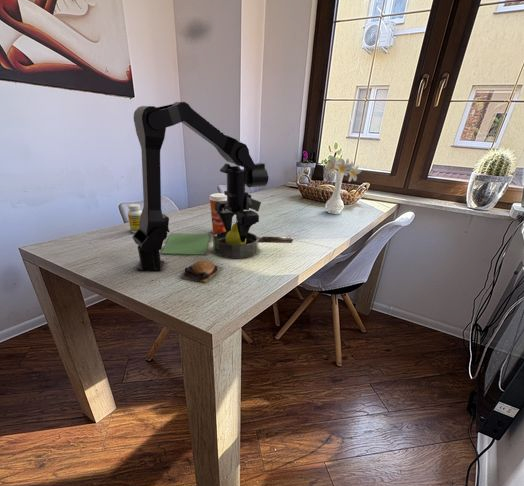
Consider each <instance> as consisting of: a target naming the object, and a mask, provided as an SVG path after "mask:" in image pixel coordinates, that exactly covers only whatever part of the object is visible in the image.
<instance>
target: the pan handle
mask: <svg viewBox="0 0 524 486" xmlns="http://www.w3.org/2000/svg"><path fill="white" fill-rule="evenodd" d="M257 239H259V242H258V244H259V243H261V244H262V243H266V244H267V243H268V244H269V243H270V244H292V243H293V242H294V238H293V237H292V236H262V237H261V236H257V237H256V240H257Z"/></svg>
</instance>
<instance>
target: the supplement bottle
mask: <svg viewBox="0 0 524 486" xmlns="http://www.w3.org/2000/svg"><path fill="white" fill-rule="evenodd" d="M127 208H128V211H127V217H128V223H129V228H130V231H131V233H133V234H135V233H136V232H137V230H138V229H139V223H140V216H141V213H142V210H141V205H140V204H138V203H129V204H128V205H127Z"/></svg>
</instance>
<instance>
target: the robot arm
mask: <svg viewBox="0 0 524 486" xmlns="http://www.w3.org/2000/svg"><path fill="white" fill-rule="evenodd" d="M133 123H134V129H135V133H136V136H137V139H138V142H139V145H140V149H141V171H142V173H141V174H142V195H143V197H142V198H143V208H142V210H141V211H142V213H141V216H140V223H139V229H138V230H137V232H136V233H133V235H132V237H131V238H132V240H133V241H134V243H135V244H136V245H137V251H138V259H139V265H138V267H137V268H136V270H137V271H138V272H139V271H140V272H141V271H143V272H144V271H146V272H160V271H162V268H163V267H164V264H165V260H162V259H161V254H160V251H161V250H163V249H162V248H163V244H164V241H165V240H166V239H167V237H168V233H170V232H171V231H170V228H169V224H170V217H169V216H168V215H166V214H165V213H163V210H162V180H161V178H162V177H161V174H162V173H161V172H162V171H161V149H162V147H163V144H164V141H165V138H166V131H167V128H170V127H173V126H175V125H178V124H180V123H182V124H183V125H184V126H185V127H187V128H188V129H189V130H191V131H192V132H194V133H195V134H197V135H198V136H199V137H201V138H202V139H203V140H205V141H206V142H208V143H209V144H210V145H211V146H213V147H214V149H216V151H217V152H218V154H219V155H220V156H221V157H222V158H223V159H224V160H225V161H226V162H227V163H224V165H223V166H222V167H220V169H219V172H220V173H223V174H226V190H224V191H223V194H225V195H227V201H217V202H216V204H215V210H216V211H218V212H217V214H218V215H219V217H220V219H221V221H222V223H223V225H224V227H225V229H226V232H227V233H228V232H229V231H231V229H232V226H233V218H234V216H235V219H236V220H237V222H236V221H235V223H236V225H237V228H238V232H239V236H240V240H241V242H245V239H246V236H247V234H248V232H250V229H251V227H252V226H253V225H256V224H258V223H259V222H260V215H259V213H258V212H259V210H260V207H261V204H262V202H261V201H260V200H256V199H254V198H252V194H249V193H248V192H247V191H246V187H247V188H260V187H266V186H267V184H268V182H269V173H268V171H267V169H266V164H265V163H263V162H257V163H255V162H254V160H253V158H252V156H251V154H250V148H249V146H248V145H247V144H246V143H244V142H242V141H241V140H239V139H236V138H234V137H232V136H229V135H227V134H225V133H224V132H223V131H221V130H220V129H219V128H218V127H217V126H215V125H214V124H213V123H212V122H210V121H209V120H208V119H206V118H205V117H204V116H202V115H201V114H200V113H198V112H197V110H195V109H194V108H193V107H192V106H191V105H190V104H189V103H188V102H186V101H176V102H175V101H174V102H173V103H171V104H167V105H162V106H154V105H140V106H138V107H137V108H136V109H135V110H134V112H133ZM229 163H230V164H234V165H233V166H232V165H230V164H229Z"/></svg>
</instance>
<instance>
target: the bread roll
mask: <svg viewBox="0 0 524 486" xmlns="http://www.w3.org/2000/svg"><path fill="white" fill-rule="evenodd" d="M220 270H221V267H220V266H219V265H216V264H214V263H213V262H211V261H209V260H207V259H199V260H196V261H195V262H194V263H192V264H191V265H189V266H187V267H184V273H183V274H182V276H181V278H182V279H183V280H188V281H194V282H200V283H206V282H208V281H209V280H210V279H212V277H213V276H215V275H216V274H217V273H218V272H219V271H220Z"/></svg>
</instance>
